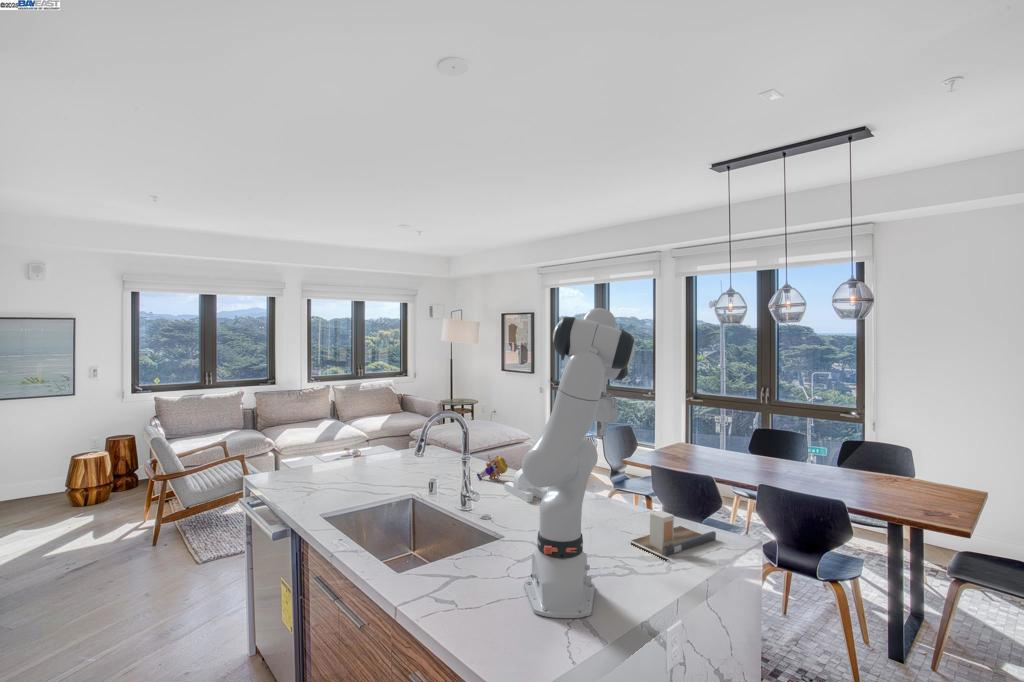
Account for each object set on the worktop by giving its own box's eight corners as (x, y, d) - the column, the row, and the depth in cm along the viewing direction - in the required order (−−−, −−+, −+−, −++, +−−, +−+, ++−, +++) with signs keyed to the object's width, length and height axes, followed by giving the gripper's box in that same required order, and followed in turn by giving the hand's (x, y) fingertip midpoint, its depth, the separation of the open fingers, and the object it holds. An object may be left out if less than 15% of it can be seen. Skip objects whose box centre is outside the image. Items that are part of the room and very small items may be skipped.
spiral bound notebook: (715, 544, 165) (715, 539, 165) (665, 561, 152) (665, 556, 152) (680, 530, 176) (680, 525, 176) (630, 544, 163) (631, 540, 163)
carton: (649, 544, 160) (650, 513, 160) (660, 541, 163) (661, 510, 162) (662, 550, 155) (663, 518, 155) (673, 547, 158) (674, 515, 158)
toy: (471, 463, 237) (498, 447, 236) (477, 465, 244) (503, 449, 242) (482, 489, 231) (510, 473, 229) (488, 491, 238) (515, 475, 236)
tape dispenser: (504, 491, 219) (504, 465, 219) (523, 488, 224) (523, 463, 224) (527, 503, 203) (527, 475, 203) (547, 499, 209) (547, 472, 209)
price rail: (716, 540, 164) (716, 532, 164) (666, 556, 151) (666, 548, 151) (713, 538, 165) (713, 531, 165) (663, 555, 152) (663, 546, 152)
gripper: (622, 393, 159) (622, 437, 160) (579, 387, 177) (579, 427, 177) (607, 394, 156) (607, 439, 156) (565, 388, 173) (565, 429, 173)
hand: (592, 433), depth 166 cm, fingers open, 8 cm apart
